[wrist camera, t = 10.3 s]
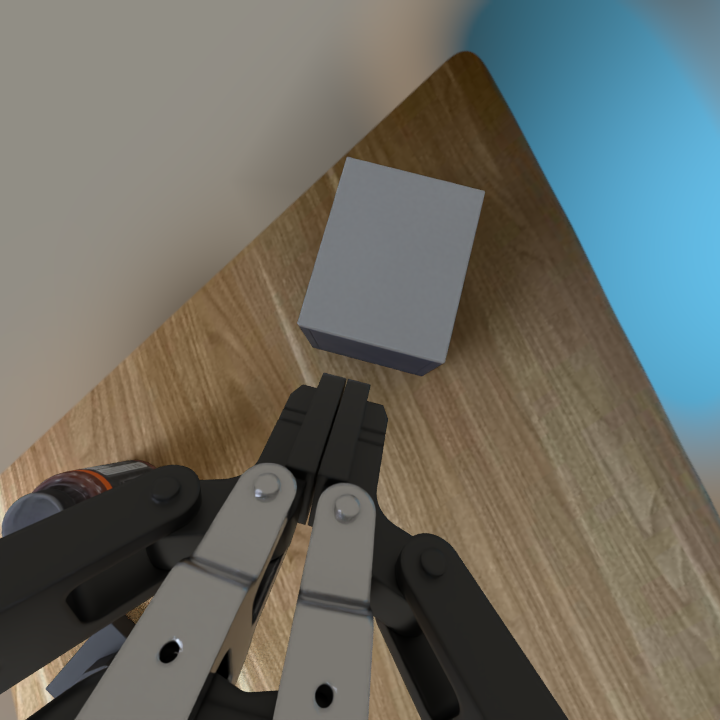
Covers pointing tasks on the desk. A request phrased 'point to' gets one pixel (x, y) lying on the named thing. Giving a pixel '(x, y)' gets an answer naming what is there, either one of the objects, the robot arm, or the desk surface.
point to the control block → (92, 655)
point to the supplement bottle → (69, 492)
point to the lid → (393, 260)
